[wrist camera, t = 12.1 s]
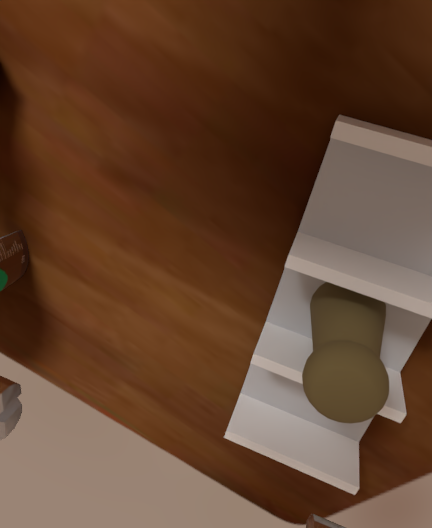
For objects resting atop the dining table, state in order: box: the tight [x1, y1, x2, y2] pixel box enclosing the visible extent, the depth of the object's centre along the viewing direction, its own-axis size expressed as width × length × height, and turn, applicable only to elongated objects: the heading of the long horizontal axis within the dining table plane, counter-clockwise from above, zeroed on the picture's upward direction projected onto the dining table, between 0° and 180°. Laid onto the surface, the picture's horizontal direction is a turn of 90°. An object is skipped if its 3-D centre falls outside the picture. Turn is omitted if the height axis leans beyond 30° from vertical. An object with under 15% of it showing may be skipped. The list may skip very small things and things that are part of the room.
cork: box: [302, 282, 389, 424], centre depth 29 cm, size 6×6×11 cm
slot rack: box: [224, 114, 432, 495], centre depth 32 cm, size 28×12×6 cm, turn 166°
